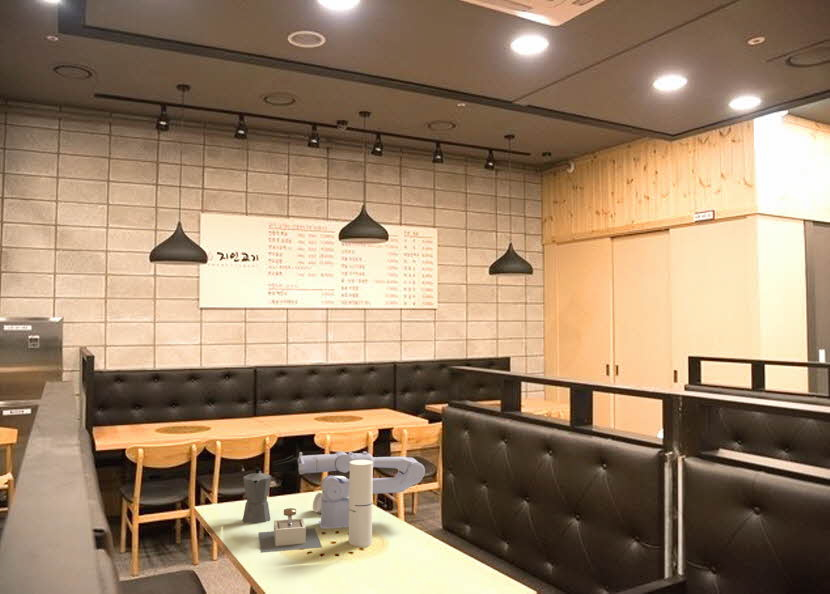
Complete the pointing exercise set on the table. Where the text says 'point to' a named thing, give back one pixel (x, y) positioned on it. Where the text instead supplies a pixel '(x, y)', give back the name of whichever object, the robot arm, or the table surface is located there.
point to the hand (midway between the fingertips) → (273, 466)
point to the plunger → (289, 519)
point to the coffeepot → (256, 497)
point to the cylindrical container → (360, 503)
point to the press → (289, 533)
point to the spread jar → (318, 499)
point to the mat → (269, 545)
